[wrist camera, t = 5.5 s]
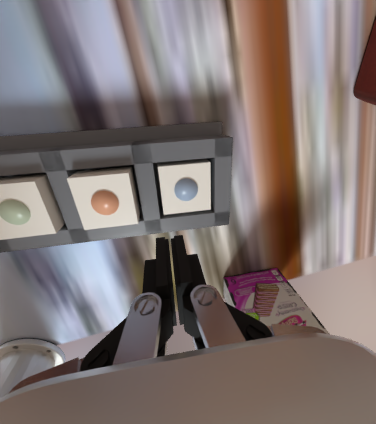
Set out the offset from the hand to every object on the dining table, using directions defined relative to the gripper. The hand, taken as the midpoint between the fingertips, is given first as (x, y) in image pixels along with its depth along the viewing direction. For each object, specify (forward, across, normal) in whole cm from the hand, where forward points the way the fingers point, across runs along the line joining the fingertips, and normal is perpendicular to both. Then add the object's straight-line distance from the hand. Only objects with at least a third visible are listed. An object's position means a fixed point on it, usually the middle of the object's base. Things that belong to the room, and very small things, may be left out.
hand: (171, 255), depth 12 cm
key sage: (+13, +15, 0) cm, 20 cm away
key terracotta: (+13, +6, 0) cm, 15 cm away
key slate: (+15, -3, 0) cm, 15 cm away
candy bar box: (+17, -15, +22) cm, 31 cm away
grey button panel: (+17, +6, 0) cm, 18 cm away
